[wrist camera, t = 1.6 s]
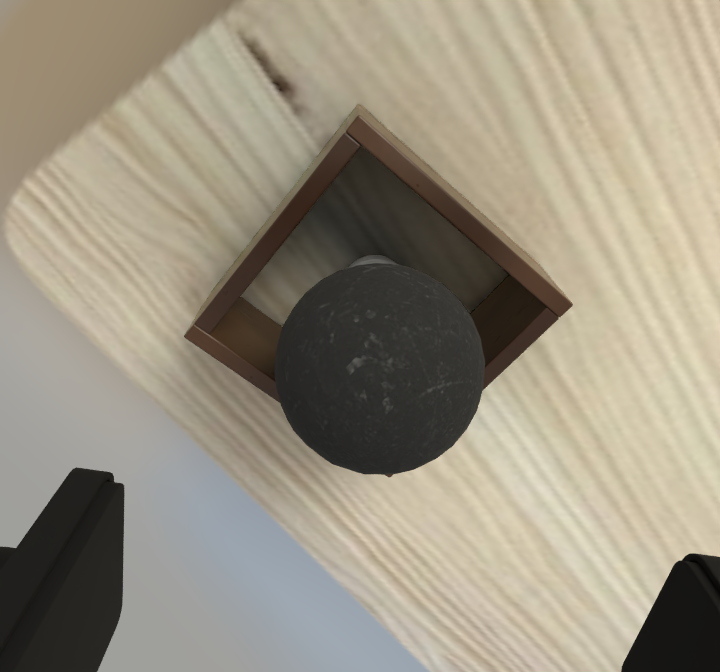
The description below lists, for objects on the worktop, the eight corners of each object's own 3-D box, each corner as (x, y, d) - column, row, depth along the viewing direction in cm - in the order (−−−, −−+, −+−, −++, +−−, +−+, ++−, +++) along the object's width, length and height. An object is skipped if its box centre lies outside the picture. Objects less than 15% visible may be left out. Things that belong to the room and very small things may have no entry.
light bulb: (269, 256, 22) (208, 394, 13) (400, 174, 21) (429, 265, 12) (350, 369, 24) (345, 556, 15) (474, 300, 23) (547, 460, 14)
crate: (210, 292, 23) (183, 337, 19) (358, 103, 20) (358, 114, 17) (385, 417, 25) (389, 478, 22) (540, 264, 23) (574, 305, 19)
